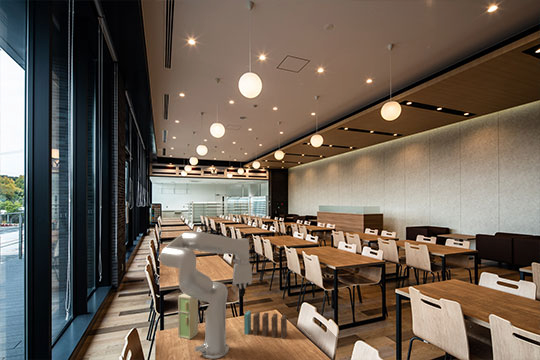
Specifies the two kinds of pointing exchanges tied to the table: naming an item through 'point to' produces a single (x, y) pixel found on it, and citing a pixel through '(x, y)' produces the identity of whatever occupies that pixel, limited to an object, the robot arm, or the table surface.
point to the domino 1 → (247, 322)
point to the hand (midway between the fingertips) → (242, 295)
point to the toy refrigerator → (187, 316)
